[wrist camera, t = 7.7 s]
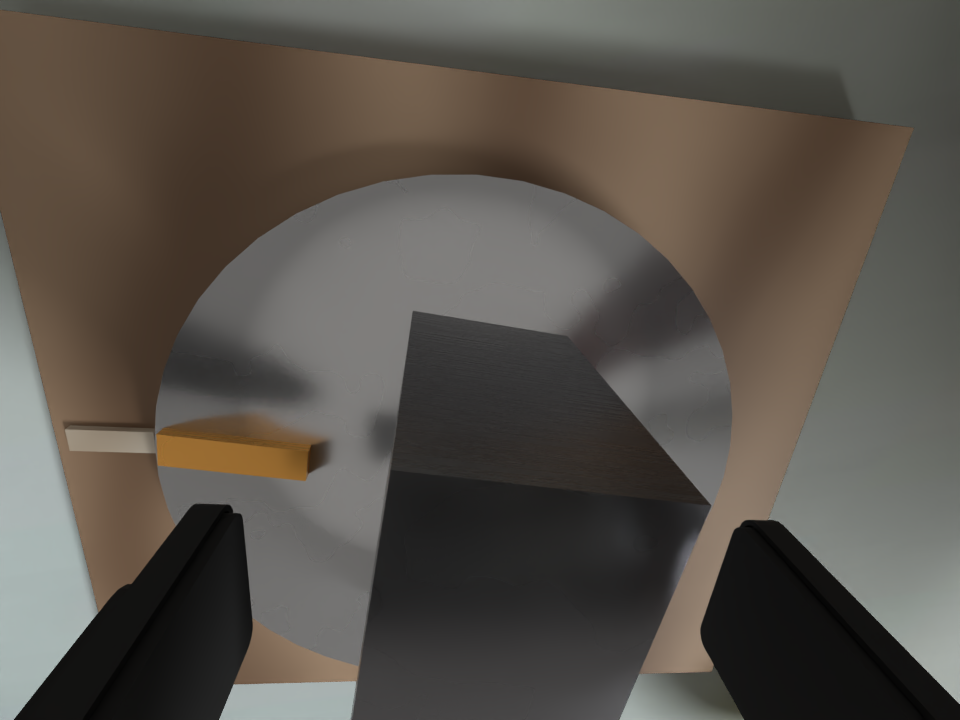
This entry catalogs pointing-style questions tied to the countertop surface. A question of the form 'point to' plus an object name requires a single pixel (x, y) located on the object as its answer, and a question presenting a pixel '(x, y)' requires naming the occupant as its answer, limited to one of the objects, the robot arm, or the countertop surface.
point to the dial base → (373, 159)
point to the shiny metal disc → (455, 442)
